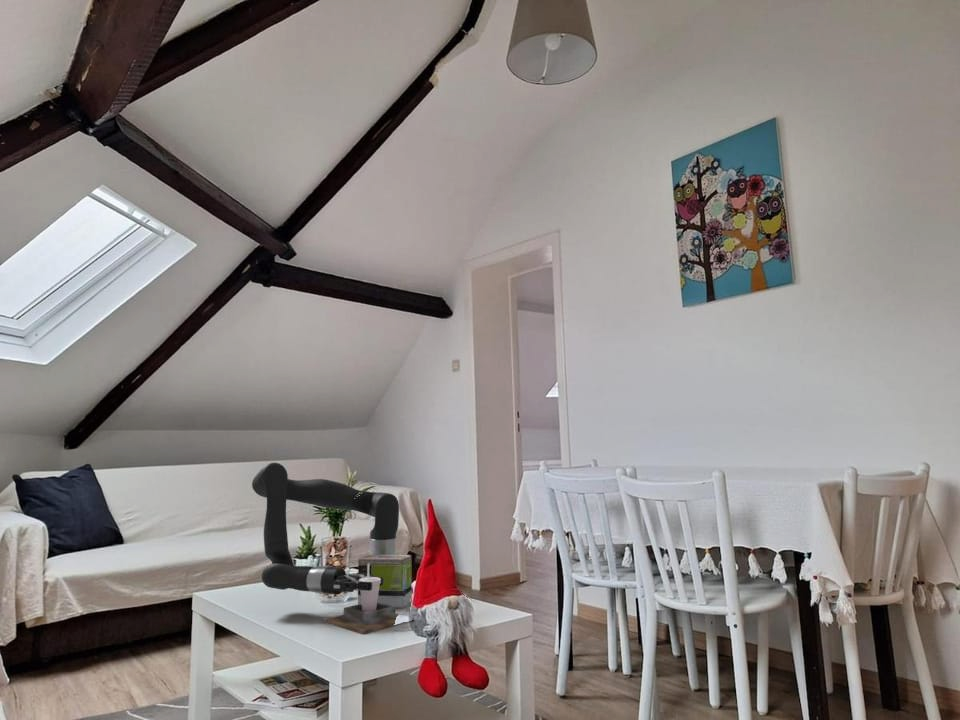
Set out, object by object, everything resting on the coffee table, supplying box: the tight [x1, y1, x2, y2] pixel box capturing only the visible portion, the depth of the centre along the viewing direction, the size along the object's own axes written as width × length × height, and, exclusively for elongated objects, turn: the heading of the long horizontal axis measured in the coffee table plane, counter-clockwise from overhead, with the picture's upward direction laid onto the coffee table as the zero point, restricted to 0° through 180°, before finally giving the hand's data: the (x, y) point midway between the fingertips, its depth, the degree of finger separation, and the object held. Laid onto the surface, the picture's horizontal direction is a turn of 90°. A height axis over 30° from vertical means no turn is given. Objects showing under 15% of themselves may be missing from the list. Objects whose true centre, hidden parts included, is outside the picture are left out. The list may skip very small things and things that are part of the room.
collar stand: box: [324, 602, 400, 635], centre depth 176 cm, size 18×18×4 cm
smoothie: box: [359, 563, 381, 612], centre depth 177 cm, size 6×6×14 cm
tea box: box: [357, 554, 413, 609], centre depth 197 cm, size 15×10×15 cm, turn 79°
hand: (377, 584), depth 177 cm, fingers closed on smoothie, 6 cm apart
